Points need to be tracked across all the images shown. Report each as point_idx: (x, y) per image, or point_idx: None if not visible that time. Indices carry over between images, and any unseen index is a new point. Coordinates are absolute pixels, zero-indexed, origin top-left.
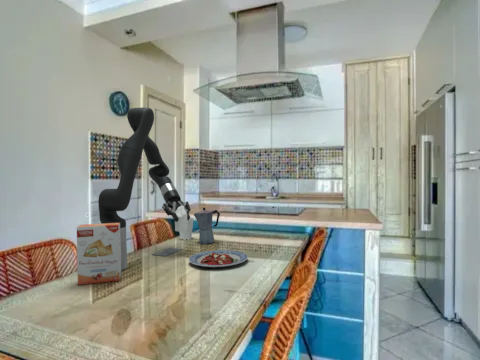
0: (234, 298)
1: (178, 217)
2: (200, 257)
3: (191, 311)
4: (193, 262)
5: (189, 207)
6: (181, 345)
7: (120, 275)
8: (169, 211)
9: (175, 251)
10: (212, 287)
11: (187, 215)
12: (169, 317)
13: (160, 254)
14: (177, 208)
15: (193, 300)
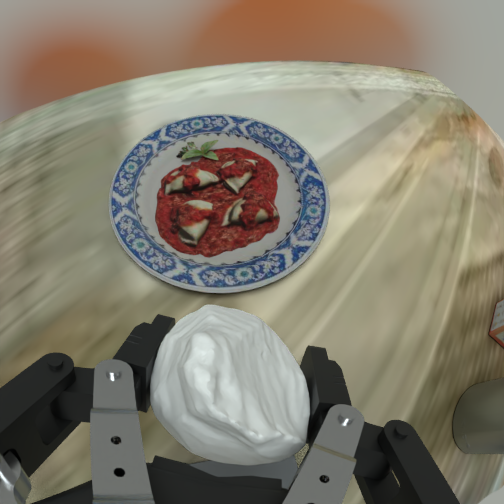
0: (368, 85)
1: (296, 363)
2: (234, 261)
3: (430, 112)
4: (323, 214)
5: (20, 381)
6: (454, 99)
7: (496, 316)
8: (408, 428)
9: (201, 466)
10: (370, 118)
11: (164, 336)
12: (454, 126)
13: (287, 480)
14: (224, 486)
15: (417, 122)
